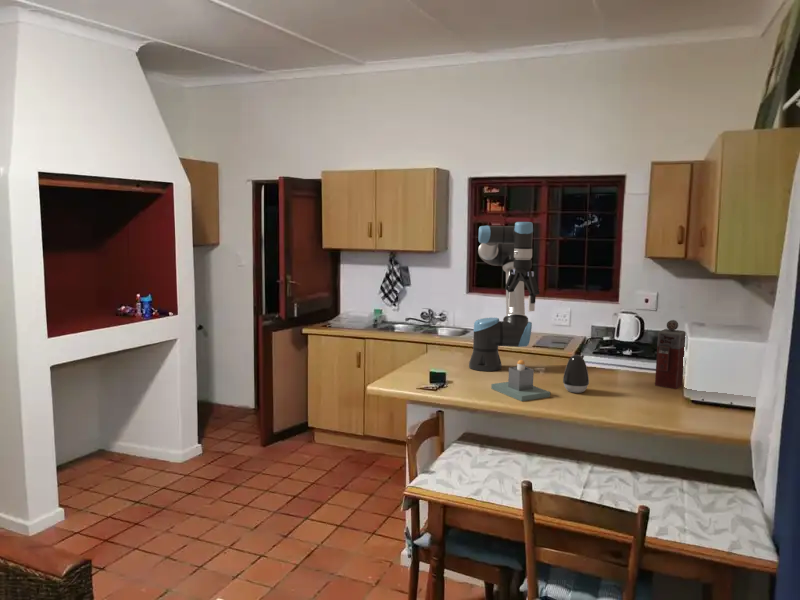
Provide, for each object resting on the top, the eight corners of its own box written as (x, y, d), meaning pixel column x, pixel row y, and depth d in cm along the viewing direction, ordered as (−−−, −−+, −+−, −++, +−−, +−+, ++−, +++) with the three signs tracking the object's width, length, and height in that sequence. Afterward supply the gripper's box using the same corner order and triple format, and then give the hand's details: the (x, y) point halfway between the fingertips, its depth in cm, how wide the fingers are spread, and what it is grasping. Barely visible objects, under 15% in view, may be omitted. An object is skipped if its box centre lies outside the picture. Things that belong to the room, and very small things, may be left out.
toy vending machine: (653, 386, 272) (657, 321, 268) (660, 381, 281) (664, 317, 277) (675, 390, 266) (679, 323, 263) (682, 384, 275) (686, 320, 272)
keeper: (491, 388, 266) (492, 356, 264) (518, 384, 272) (519, 353, 271) (521, 401, 248) (522, 367, 247) (550, 396, 255) (551, 363, 253)
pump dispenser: (593, 391, 264) (594, 354, 262) (580, 396, 256) (582, 358, 254) (570, 386, 270) (572, 351, 269) (557, 391, 263) (559, 354, 261)
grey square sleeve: (508, 386, 262) (508, 367, 261) (522, 384, 265) (522, 365, 264) (518, 391, 255) (519, 371, 254) (532, 388, 259) (533, 369, 258)
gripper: (497, 257, 280) (496, 305, 282) (534, 261, 258) (532, 313, 260) (511, 256, 283) (510, 304, 286) (549, 260, 261) (547, 312, 264)
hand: (521, 309), depth 273 cm, fingers open, 13 cm apart
